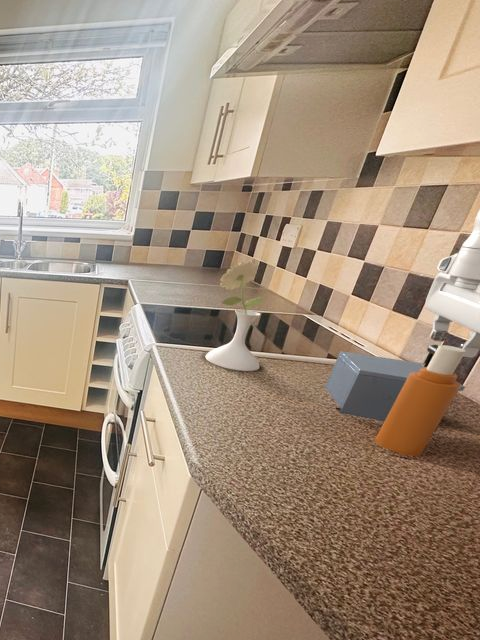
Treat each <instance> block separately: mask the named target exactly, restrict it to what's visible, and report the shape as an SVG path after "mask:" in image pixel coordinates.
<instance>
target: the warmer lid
mask: <svg viewBox="0 0 480 640" xmlns="http://www.w3.org/2000/svg"><path fill="white" fill-rule="evenodd" d="M438 346H439V345H438V344H431V345H429V346H428V347H427V349H426V350H427V352H428V354H427V356H426V358H425V360H424V361H423V362H416V361H409V360H403V359H396V358H391V357H383V356H376V355H370V354H364V353H363V354H362V353H356V352H349V351H342V350H340V352H339V354H338V356H339V355H340V356H341V357H342V358H343V359H344V360H345V361H346V362H347V363H348V364H349V365H350V366H351V367H352V368H353V369H354V370H355V371H356V372H357V373H358V374H362V375H368V376H374V377H380V378H386V379H393V380H399V381H405V382H406V380H407V378H408V376H409V374H410V373H411V372H419V370H420V368H421V367H428V365H429V363H430V361H431V359H432V357H433V355H434V354H435V352H436V350H437V348H438ZM465 388H466V386H465V385H463V384H461V387H460V389H459V390H458V391H461V392H463V391H464V390H465Z"/></svg>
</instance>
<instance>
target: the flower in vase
mask: <svg viewBox="0 0 480 640" xmlns="http://www.w3.org/2000/svg"><path fill="white" fill-rule="evenodd" d="M254 263H255V262H254V261H251V260H248V261H246V262H245V261H240V262H239V263H237V264H235V265H234V266H232V267H231V268H228V269H227V270H226V272H225V273H223V275H222V276H221V278H220V279H219V281H221V282H220V283H219V286H220V287H221V288H222V289H223V288H225V289H226V290H234V289H239V288H241V289H240V297H238V296H230V297H227V298H226V299H224V300H223V301H221V304H222V305H225V306H232V307H233V306H235V305H237V304H239V303H240V302H241V303H242V307H243V309H235V311H234V312H235V315H236V319H237V321H236V322H237V323H236V329H235V333H234V336H233V338H232V339H231V340H230V341H229V342H228V343H226V344H223V345H221V346H218V347H216V348H214V349H212V350H210V351H208V352H207V353H206V354H205V359H206V360H207V362H209V363H211V364H212V365H215V366H217V367H220V368H223V369H228V370H232V371H239V372H255V371H258V370H259V369H260V362H259V360H258V359H257V358H256V356H255V355H254V354H253V353H252V352H251V350H249V348H248V347H247V345H246V342H245V341H246V337H247V334H248V332H249V329H250V327H251V325H252V324H253V322H254V321H255V320H256V319H257V318H258V317H259V316H261V313H260V312H258V311H255V310H249V309H247V308H252V307H257V306H259V305H260V304H261V302H262V301H263V297H264V296H258V297H255V298H250V299H248V300H246V301H244V287H245V286H246V285H247V284H249V283H251V281H252V280H254V279H255V278H256V277H255V276H256V275H257V273H258V272H257V271H258V270H259V265H257V264H254Z"/></svg>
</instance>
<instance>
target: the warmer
mask: <svg viewBox="0 0 480 640" xmlns="http://www.w3.org/2000/svg"><path fill="white" fill-rule="evenodd" d="M404 384H405V381H399V380H393V379H386V378H380V377H374V376H368V375H362V374H358V373H357V372H356V371H355V370H354V369H353V368H352V367H351V366H350V365H349V364H348V363H347V362H346V361H345V360H344V359H343V358H342V357H341V356H340V355H339V354H338V356H337V358H336V360H335V362H334V365H333V368H332V369H331V372H330V374H329V377H328V379H327V381H326V384H325V386H324V388H325V389H326V391H327V392H328V393H329V394H330V396H331V397H332V399H333V400H334V401H335V403H336V404H337V405H338V406H337V407H335V408H336V409H337V411H338V412H339V413H340V414H344V415H349V416H355V417H358V418H359V417H360V418H364V419H369V420H375V421H380V422H385V420H386V418H387V416H388V414H389V412H390V410H391V408H392V406H393V405H394V403H395V401H396V399H397V397H398V395H399V393H400V391H401V389H402V387H403V386H404Z"/></svg>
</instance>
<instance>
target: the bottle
mask: <svg viewBox="0 0 480 640" xmlns="http://www.w3.org/2000/svg"><path fill="white" fill-rule="evenodd" d="M465 352H466V351H465V350H463V349H461V348H459V347H457V346H452V345H444V344H441V345H438V348H437V350H436V352H435V354H434V355H433V357H432V359H431V361H430V363H429V365H428V367H421V368H420V370H419V372H411V373H410V374H409V376H408V378H407V380H406V382H405V384H404V386H403V387H402V389H401V391H400V393H399V395H398V397H397V399H396V401H395V403H394V405H393V406H392V408H391V410H390V412H389V414H388V416H387V418H386V420H385V421H383V424H382V425H381V426H380V429H379V431H378V433H377V435H376V437H375V439H374V441H375V442H376V443H377V444H378V445H379V446H381V447H382V448H385V449H387V450H389V451H391V452H394V453H397V454H401V455H405V456H410V457H411V456H412V457H419V456H421V455H422V453H423V452H424V450H425V448H426V446H427V445H428V443H429V441H430V440H431V438H432V436H433V434H434V433H435V431H436V430H437V428H438V426H439V425H440V423H441V421H442V419H443V417H444V416H445V414H446V413H447V411H448V409H449V407H450V406H451V404H452V402H453V400H454V399H455V397H456V396H457V394H458V392H459V391H460V390H459V389H460V387H461V385H462V383H461V382H459V381H457V379H458V376H459V375H458V374H457V373H454V372H455V371H456V370H457V367H458V366H459V364H460V362H461V361H462V358H464V357H463V355H464V354H465ZM392 456H393V457H396V458H399V459H405V460H409V458H408V457H404V456H399V455H394V454H392ZM410 460H411V461H412V460H414V459H413V458H410Z"/></svg>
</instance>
